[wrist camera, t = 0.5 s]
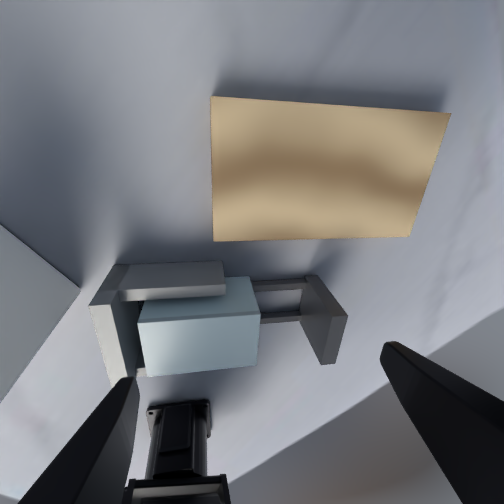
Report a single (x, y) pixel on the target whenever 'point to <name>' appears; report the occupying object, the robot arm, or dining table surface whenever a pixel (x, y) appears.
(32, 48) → the dining table surface
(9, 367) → the milk carton
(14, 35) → the dining table surface
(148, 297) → the bay
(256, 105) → the board
